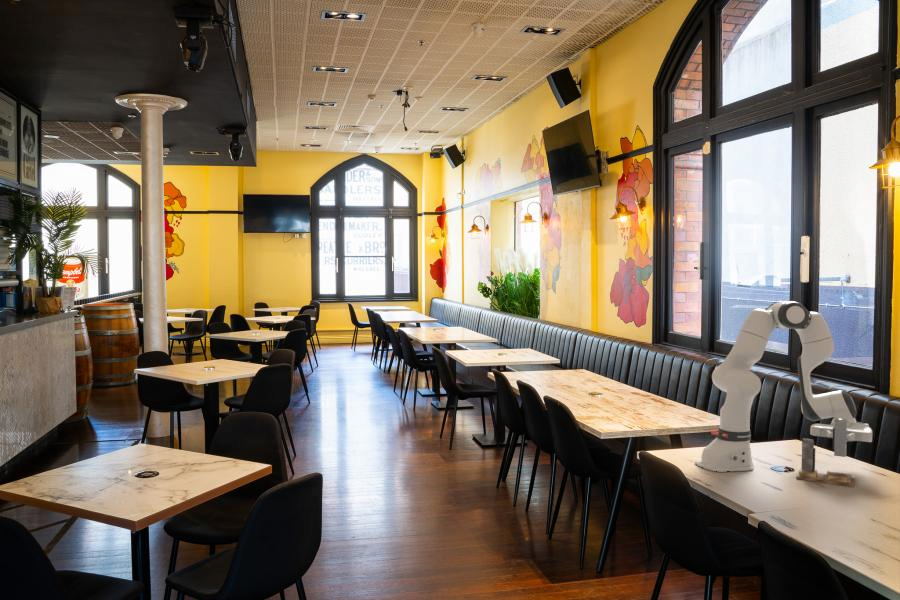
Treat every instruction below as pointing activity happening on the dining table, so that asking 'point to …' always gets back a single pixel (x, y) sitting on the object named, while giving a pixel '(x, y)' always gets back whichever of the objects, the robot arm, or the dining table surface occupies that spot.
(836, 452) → the grey tall block
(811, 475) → the twin post stand
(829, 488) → the dining table surface
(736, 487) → the dining table surface
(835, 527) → the dining table surface
